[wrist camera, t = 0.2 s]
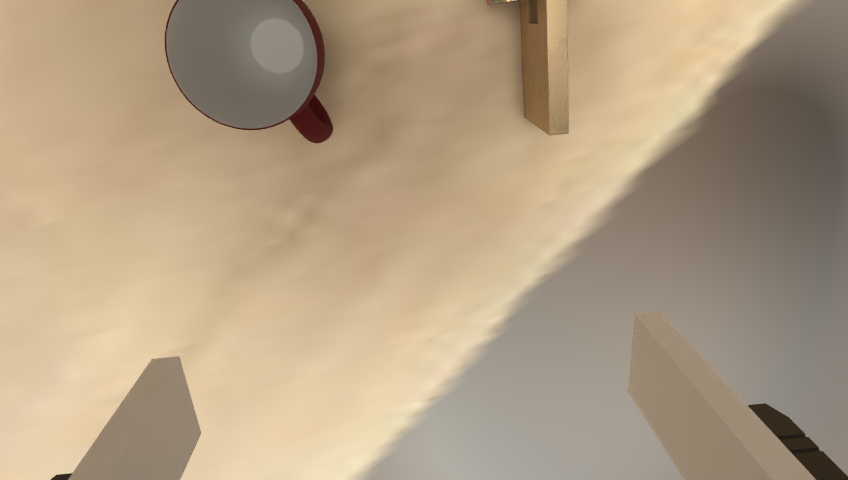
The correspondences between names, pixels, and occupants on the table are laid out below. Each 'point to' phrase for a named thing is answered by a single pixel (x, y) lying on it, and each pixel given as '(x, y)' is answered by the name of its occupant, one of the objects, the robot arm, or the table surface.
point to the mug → (249, 63)
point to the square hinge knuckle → (545, 63)
